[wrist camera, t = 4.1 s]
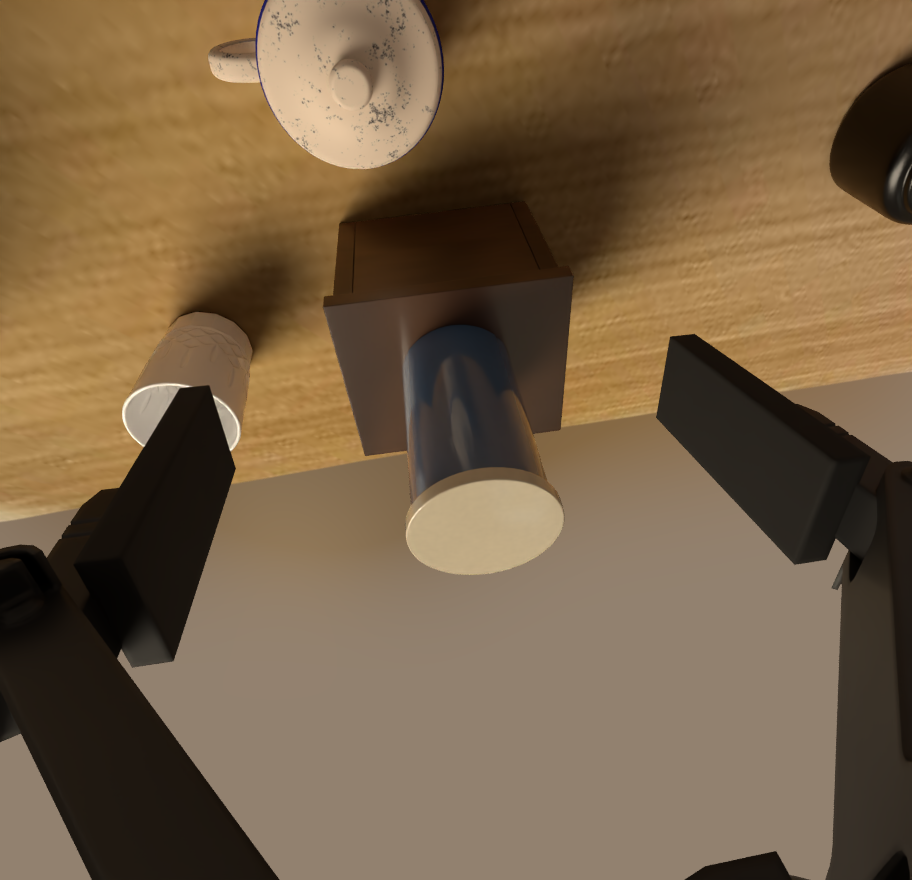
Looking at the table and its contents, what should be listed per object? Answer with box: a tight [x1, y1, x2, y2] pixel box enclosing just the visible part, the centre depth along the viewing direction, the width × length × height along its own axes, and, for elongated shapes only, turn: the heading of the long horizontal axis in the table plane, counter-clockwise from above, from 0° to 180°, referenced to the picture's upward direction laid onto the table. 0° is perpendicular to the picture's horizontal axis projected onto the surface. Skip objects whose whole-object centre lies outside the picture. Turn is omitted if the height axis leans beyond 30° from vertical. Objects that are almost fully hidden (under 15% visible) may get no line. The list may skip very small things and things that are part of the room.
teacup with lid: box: [208, 0, 444, 169], centre depth 29 cm, size 12×9×12 cm
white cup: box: [122, 312, 252, 452], centre depth 43 cm, size 8×8×10 cm
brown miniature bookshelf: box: [323, 201, 574, 456], centre depth 41 cm, size 15×13×12 cm
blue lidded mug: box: [402, 325, 564, 575], centre depth 33 cm, size 8×11×13 cm
